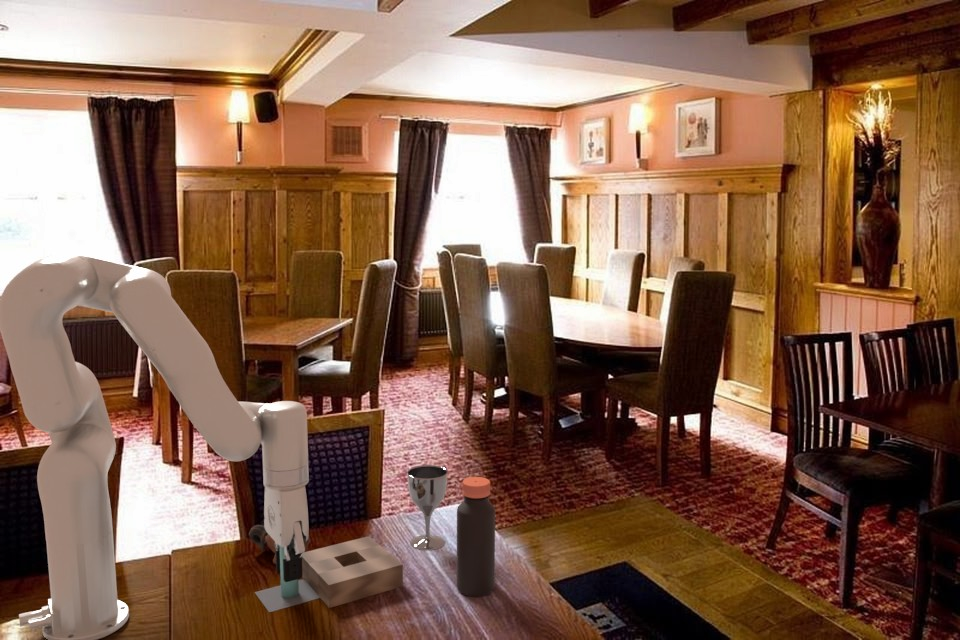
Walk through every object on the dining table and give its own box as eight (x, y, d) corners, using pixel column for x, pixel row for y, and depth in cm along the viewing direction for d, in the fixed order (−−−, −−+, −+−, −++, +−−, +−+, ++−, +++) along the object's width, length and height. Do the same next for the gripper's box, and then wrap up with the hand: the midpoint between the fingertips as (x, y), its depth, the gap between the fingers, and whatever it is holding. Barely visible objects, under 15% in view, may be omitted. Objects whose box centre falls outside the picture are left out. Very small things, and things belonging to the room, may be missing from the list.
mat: (269, 614, 131) (269, 612, 131) (254, 594, 137) (254, 592, 137) (325, 598, 136) (325, 596, 136) (308, 579, 143) (308, 577, 143)
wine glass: (454, 539, 160) (455, 469, 158) (432, 554, 153) (431, 481, 151) (423, 531, 164) (423, 462, 162) (400, 544, 157) (399, 473, 155)
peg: (284, 600, 135) (282, 534, 133) (278, 592, 137) (276, 528, 135) (301, 595, 136) (299, 530, 135) (295, 588, 139) (293, 524, 137)
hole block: (329, 609, 132) (328, 585, 132) (299, 576, 144) (299, 553, 143) (402, 588, 140) (402, 564, 139) (369, 558, 152) (368, 536, 151)
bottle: (490, 599, 136) (491, 490, 133) (452, 595, 138) (452, 486, 134) (497, 581, 143) (498, 476, 140) (461, 577, 144) (461, 473, 141)
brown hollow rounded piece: (311, 544, 159) (317, 518, 154) (299, 583, 151) (304, 557, 146) (253, 530, 158) (256, 504, 153) (237, 569, 150) (241, 543, 145)
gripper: (249, 464, 138) (253, 562, 141) (280, 493, 125) (284, 601, 127) (290, 457, 142) (293, 552, 145) (325, 484, 129) (327, 589, 132)
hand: (289, 574), depth 136 cm, fingers closed on peg, 3 cm apart
